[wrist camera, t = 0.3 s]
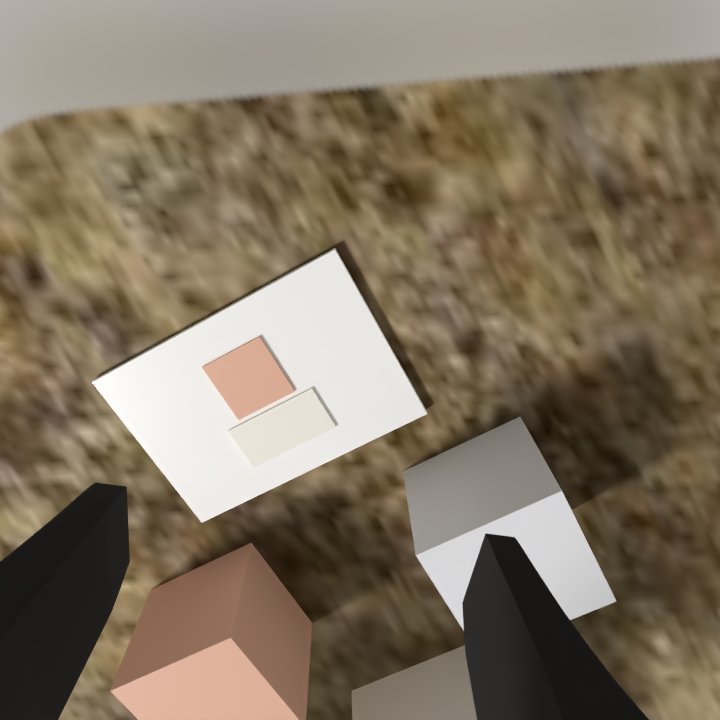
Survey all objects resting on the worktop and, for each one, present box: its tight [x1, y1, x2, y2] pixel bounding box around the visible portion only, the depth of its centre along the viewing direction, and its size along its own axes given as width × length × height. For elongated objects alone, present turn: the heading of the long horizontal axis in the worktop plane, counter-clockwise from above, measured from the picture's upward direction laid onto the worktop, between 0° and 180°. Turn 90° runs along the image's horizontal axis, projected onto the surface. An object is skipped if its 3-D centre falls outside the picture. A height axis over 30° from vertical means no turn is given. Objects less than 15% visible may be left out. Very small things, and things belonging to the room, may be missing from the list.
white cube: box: [403, 417, 616, 631], centre depth 22 cm, size 5×5×5 cm
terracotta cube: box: [110, 543, 312, 720], centre depth 24 cm, size 5×5×5 cm
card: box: [92, 248, 427, 522], centre depth 23 cm, size 10×7×1 cm
